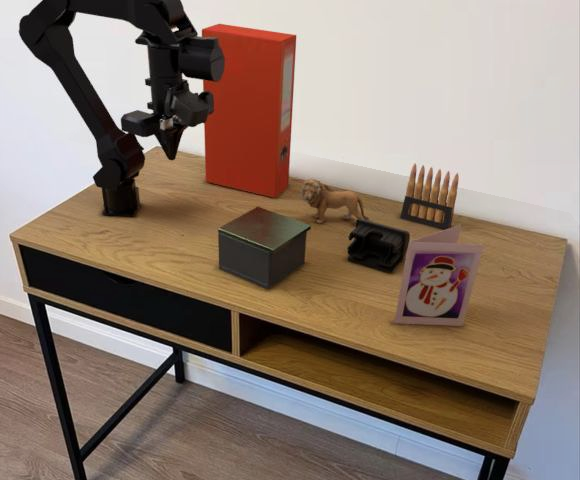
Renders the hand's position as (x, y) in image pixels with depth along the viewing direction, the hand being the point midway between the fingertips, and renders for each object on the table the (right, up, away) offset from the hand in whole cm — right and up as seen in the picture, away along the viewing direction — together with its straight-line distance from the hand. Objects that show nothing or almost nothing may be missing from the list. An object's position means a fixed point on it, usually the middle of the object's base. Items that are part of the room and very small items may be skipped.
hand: (171, 159), depth 122 cm
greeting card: (+45, -31, -14) cm, 57 cm away
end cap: (+39, -19, 0) cm, 43 cm away
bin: (+18, -21, -5) cm, 28 cm away
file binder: (+13, +1, +25) cm, 28 cm away
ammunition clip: (+51, -10, +13) cm, 54 cm away
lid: (+18, -15, -9) cm, 26 cm away
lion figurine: (+31, -10, +12) cm, 35 cm away
